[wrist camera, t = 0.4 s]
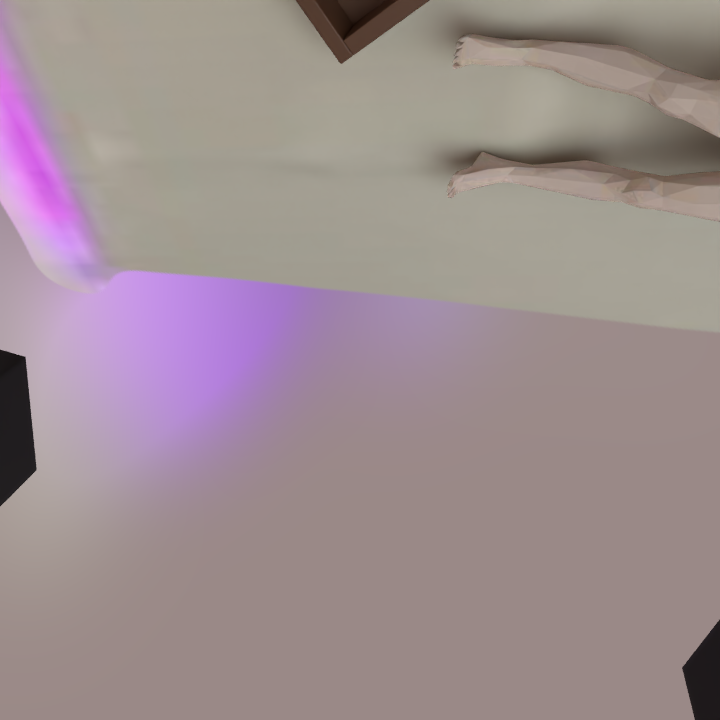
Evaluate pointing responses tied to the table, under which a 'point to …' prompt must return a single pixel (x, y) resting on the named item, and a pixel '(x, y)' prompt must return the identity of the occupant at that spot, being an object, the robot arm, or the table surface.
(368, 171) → the table surface
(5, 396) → the robot arm
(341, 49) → the tray
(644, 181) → the anime figure
